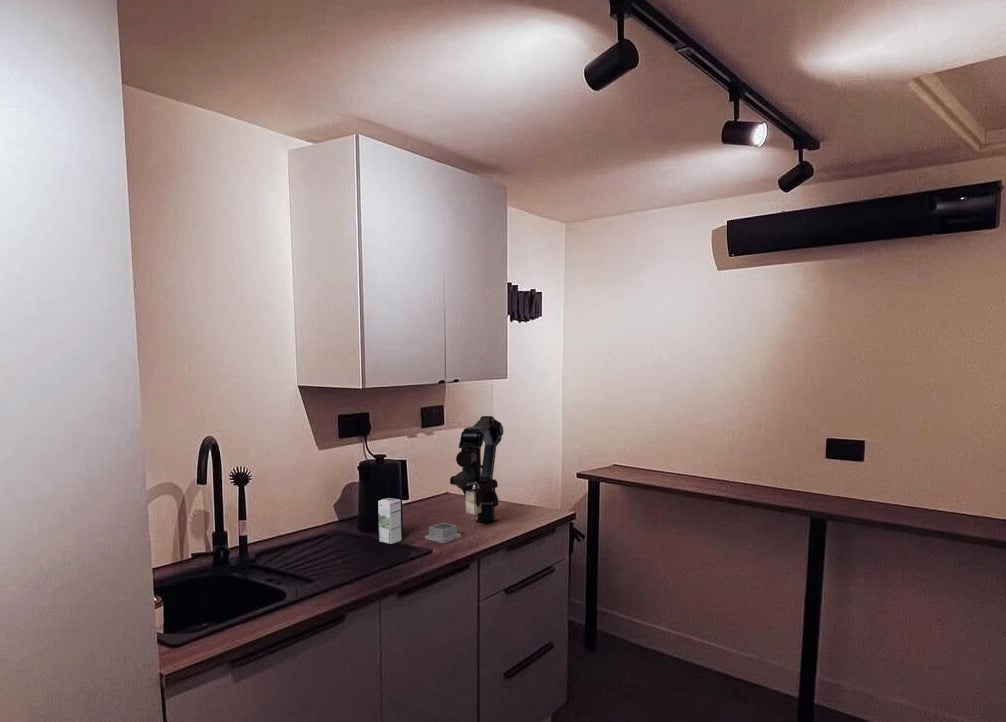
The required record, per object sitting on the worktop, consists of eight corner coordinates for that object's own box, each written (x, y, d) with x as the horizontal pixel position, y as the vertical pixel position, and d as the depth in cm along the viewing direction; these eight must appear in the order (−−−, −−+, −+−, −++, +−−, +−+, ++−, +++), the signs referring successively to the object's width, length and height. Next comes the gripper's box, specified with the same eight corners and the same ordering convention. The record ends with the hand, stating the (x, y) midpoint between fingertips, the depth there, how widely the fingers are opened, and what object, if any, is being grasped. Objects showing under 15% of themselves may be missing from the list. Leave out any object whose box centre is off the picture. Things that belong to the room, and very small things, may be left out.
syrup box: (402, 540, 212) (401, 498, 212) (389, 544, 208) (389, 502, 208) (390, 538, 216) (389, 497, 216) (378, 542, 211) (377, 500, 211)
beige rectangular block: (473, 510, 225) (472, 489, 225) (481, 512, 222) (481, 490, 222) (465, 512, 221) (465, 490, 221) (474, 514, 219) (473, 492, 219)
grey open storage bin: (443, 532, 221) (442, 521, 221) (461, 536, 216) (460, 525, 216) (425, 538, 214) (424, 527, 214) (443, 542, 209) (443, 531, 209)
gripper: (439, 463, 221) (439, 506, 221) (477, 468, 210) (478, 513, 210) (460, 459, 230) (460, 500, 230) (498, 463, 218) (498, 507, 218)
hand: (473, 505), depth 222 cm, fingers closed on beige rectangular block, 4 cm apart
